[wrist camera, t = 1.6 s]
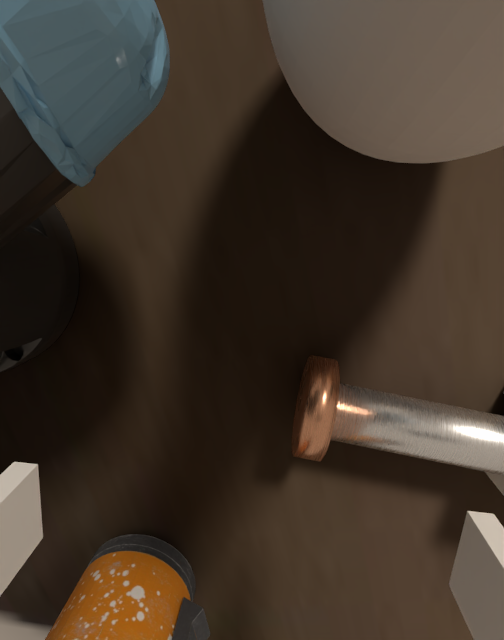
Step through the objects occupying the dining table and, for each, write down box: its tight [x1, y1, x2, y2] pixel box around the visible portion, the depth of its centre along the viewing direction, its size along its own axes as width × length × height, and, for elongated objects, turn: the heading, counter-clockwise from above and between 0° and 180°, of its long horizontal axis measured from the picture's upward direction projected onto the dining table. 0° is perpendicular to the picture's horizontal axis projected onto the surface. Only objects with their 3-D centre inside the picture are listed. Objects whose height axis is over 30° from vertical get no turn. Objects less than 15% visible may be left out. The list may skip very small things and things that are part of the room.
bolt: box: [292, 355, 504, 476], centre depth 26 cm, size 24×6×6 cm, turn 79°
